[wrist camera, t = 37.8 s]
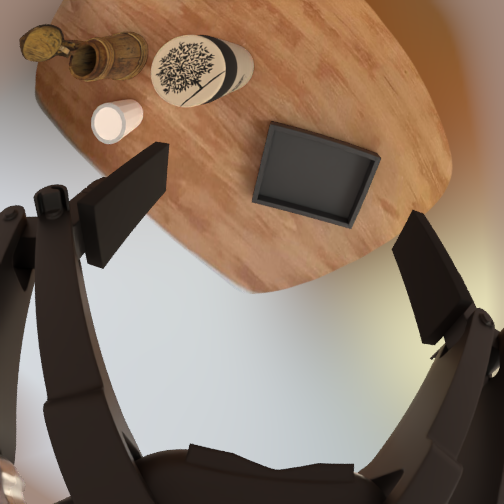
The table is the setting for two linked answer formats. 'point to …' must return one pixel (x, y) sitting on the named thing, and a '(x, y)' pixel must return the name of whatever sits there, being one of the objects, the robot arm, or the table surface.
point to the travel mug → (199, 69)
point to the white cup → (116, 120)
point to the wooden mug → (88, 53)
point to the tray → (314, 175)
